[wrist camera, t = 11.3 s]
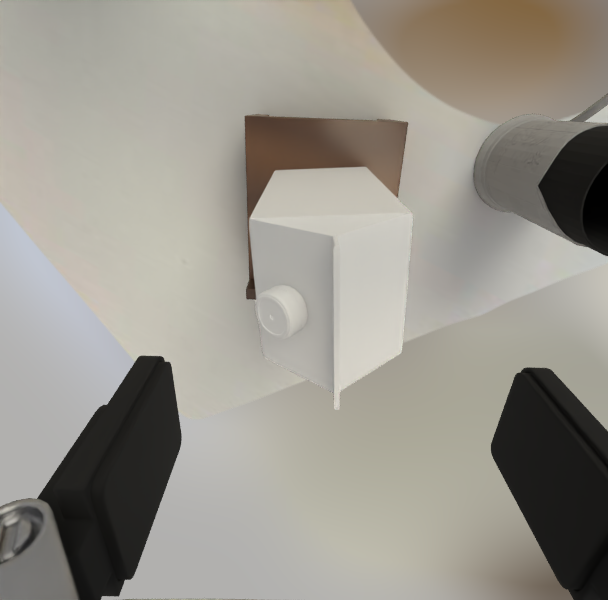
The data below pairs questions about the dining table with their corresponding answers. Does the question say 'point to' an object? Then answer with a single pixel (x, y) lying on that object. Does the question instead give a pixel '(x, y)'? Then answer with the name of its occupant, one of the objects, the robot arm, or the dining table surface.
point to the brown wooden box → (318, 152)
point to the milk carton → (330, 273)
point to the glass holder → (550, 174)
